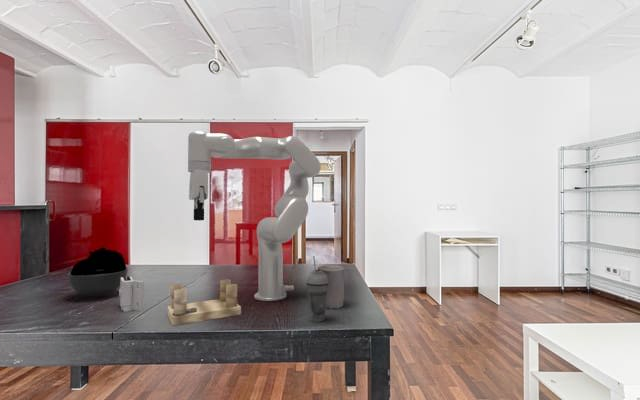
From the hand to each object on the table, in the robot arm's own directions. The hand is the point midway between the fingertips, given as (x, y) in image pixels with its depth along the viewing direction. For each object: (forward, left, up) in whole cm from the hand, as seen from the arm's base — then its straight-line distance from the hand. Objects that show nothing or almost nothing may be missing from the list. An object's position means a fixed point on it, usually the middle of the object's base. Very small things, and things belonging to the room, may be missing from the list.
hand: (198, 220), depth 115 cm
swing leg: (+5, +10, -28) cm, 31 cm away
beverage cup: (-31, +29, -31) cm, 53 cm away
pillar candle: (-43, +18, -31) cm, 56 cm away
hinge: (+20, -15, -31) cm, 40 cm away
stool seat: (-1, +6, -31) cm, 32 cm away
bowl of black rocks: (+31, -39, -31) cm, 59 cm away
